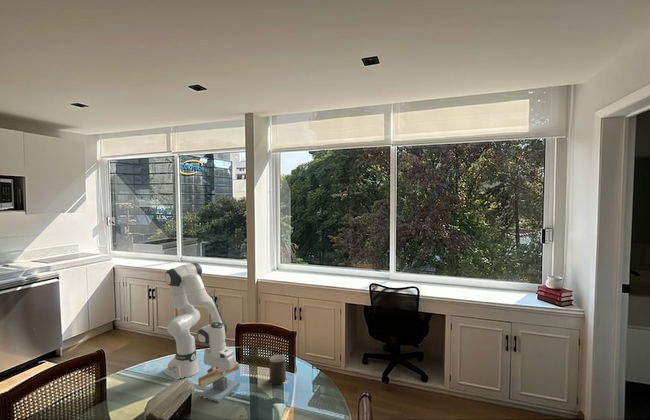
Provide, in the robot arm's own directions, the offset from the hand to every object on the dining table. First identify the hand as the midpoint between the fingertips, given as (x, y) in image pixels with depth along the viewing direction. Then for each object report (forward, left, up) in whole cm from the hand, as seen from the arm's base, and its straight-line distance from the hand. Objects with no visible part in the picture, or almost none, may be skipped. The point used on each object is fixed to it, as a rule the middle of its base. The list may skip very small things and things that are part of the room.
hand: (219, 373), depth 197 cm
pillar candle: (+26, +22, -10) cm, 36 cm away
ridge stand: (0, 0, -10) cm, 10 cm away
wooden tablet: (-18, +26, -11) cm, 33 cm away
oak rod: (0, 0, -2) cm, 2 cm away
